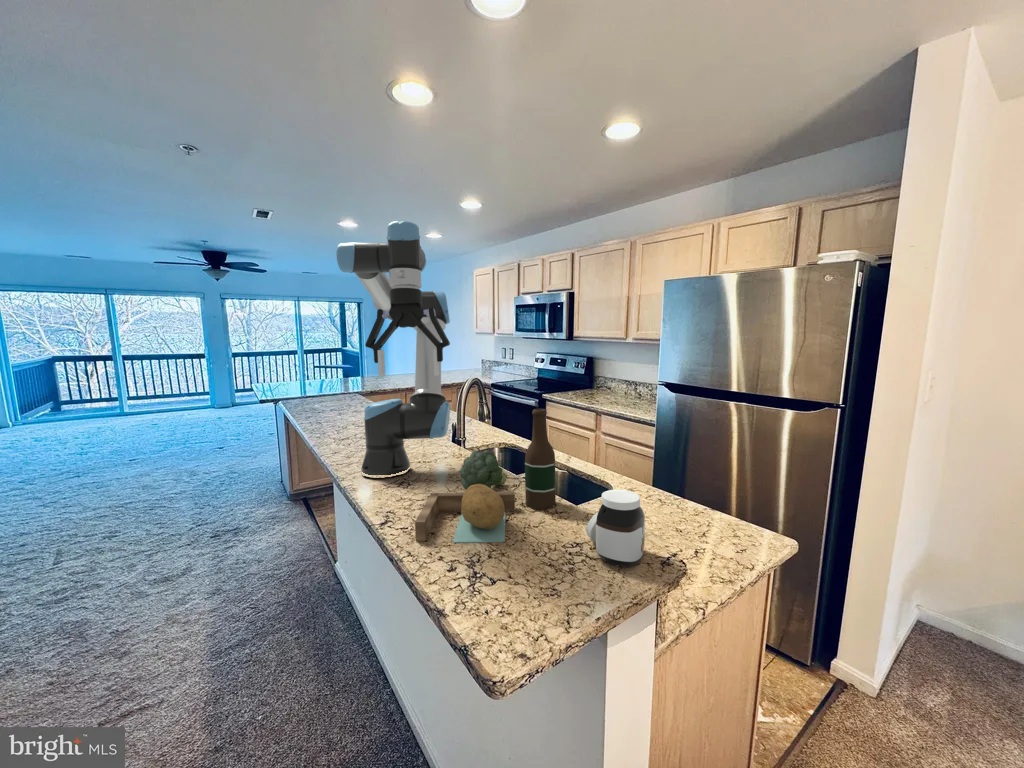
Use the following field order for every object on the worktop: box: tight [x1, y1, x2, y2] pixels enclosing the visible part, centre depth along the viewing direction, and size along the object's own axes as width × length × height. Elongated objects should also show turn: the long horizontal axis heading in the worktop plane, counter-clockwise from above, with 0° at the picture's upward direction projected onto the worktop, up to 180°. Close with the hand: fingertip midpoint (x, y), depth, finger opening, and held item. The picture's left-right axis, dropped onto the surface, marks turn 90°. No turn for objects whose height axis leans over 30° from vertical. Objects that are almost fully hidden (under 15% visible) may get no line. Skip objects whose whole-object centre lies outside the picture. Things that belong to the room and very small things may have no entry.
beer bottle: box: [524, 408, 557, 511], centre depth 99 cm, size 8×8×24 cm
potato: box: [460, 484, 506, 529], centre depth 88 cm, size 10×14×8 cm
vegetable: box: [459, 449, 508, 491], centre depth 110 cm, size 12×13×15 cm
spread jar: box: [585, 489, 646, 567], centre depth 76 cm, size 12×11×12 cm
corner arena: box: [414, 491, 516, 542], centre depth 90 cm, size 16×20×4 cm
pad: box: [452, 511, 507, 544], centre depth 88 cm, size 14×10×1 cm
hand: (409, 376), depth 99 cm, fingers open, 13 cm apart
